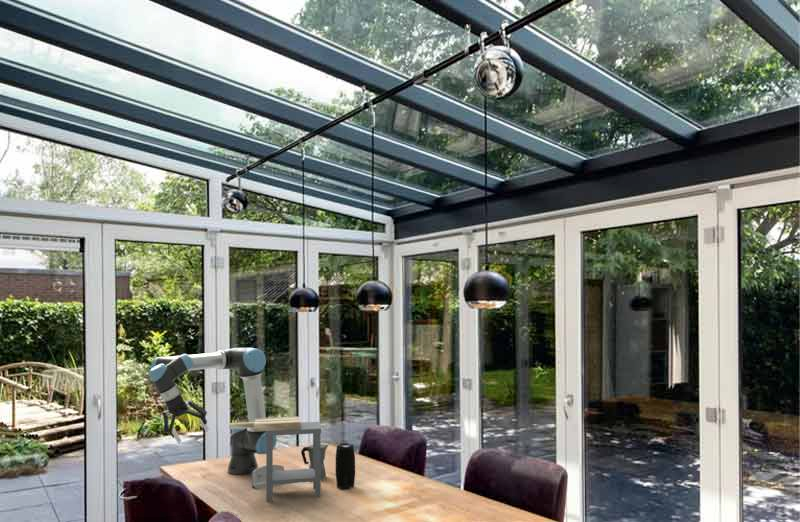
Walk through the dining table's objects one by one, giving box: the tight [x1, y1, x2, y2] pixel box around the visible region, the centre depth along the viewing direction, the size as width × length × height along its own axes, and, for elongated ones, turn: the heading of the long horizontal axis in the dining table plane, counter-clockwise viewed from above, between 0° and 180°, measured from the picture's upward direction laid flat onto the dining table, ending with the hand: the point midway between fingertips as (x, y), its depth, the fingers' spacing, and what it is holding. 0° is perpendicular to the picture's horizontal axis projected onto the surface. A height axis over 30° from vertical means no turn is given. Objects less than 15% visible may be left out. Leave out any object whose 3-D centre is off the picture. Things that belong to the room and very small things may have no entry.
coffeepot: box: [300, 443, 329, 480], centre depth 306 cm, size 15×9×18 cm, turn 129°
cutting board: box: [228, 416, 301, 432], centre depth 277 cm, size 16×31×3 cm, turn 101°
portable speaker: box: [335, 442, 356, 491], centre depth 287 cm, size 9×9×20 cm
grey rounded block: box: [251, 464, 285, 490], centre depth 295 cm, size 17×5×10 cm, turn 123°
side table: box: [265, 421, 322, 503], centre depth 279 cm, size 18×24×30 cm
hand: (193, 436), depth 280 cm, fingers open, 13 cm apart
